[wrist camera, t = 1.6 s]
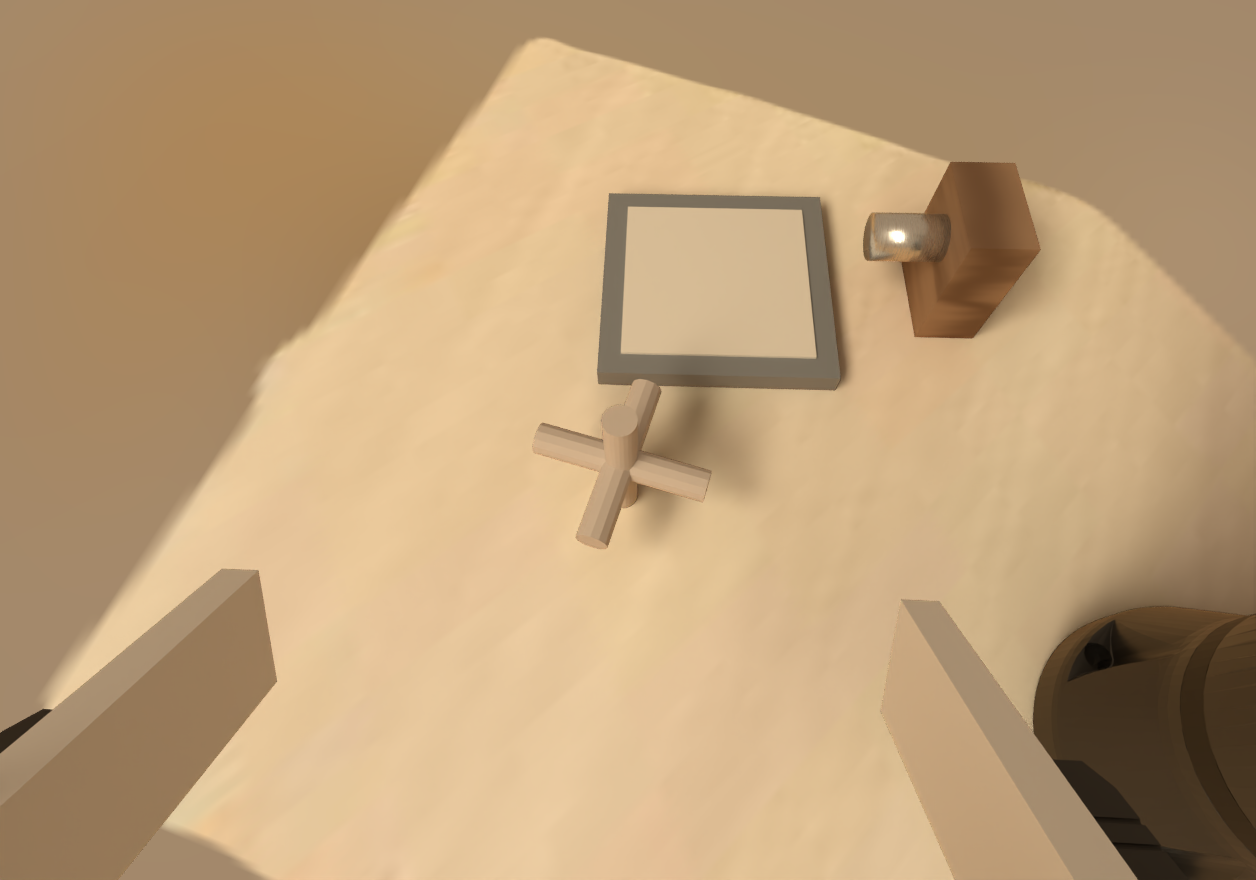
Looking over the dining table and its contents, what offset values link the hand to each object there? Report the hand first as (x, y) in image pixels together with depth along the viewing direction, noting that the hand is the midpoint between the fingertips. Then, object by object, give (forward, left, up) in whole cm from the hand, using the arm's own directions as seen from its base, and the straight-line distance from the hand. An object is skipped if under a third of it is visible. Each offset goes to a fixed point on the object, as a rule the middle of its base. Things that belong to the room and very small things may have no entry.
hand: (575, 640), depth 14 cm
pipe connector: (0, -13, -26) cm, 29 cm away
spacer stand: (-11, -29, -26) cm, 41 cm away
